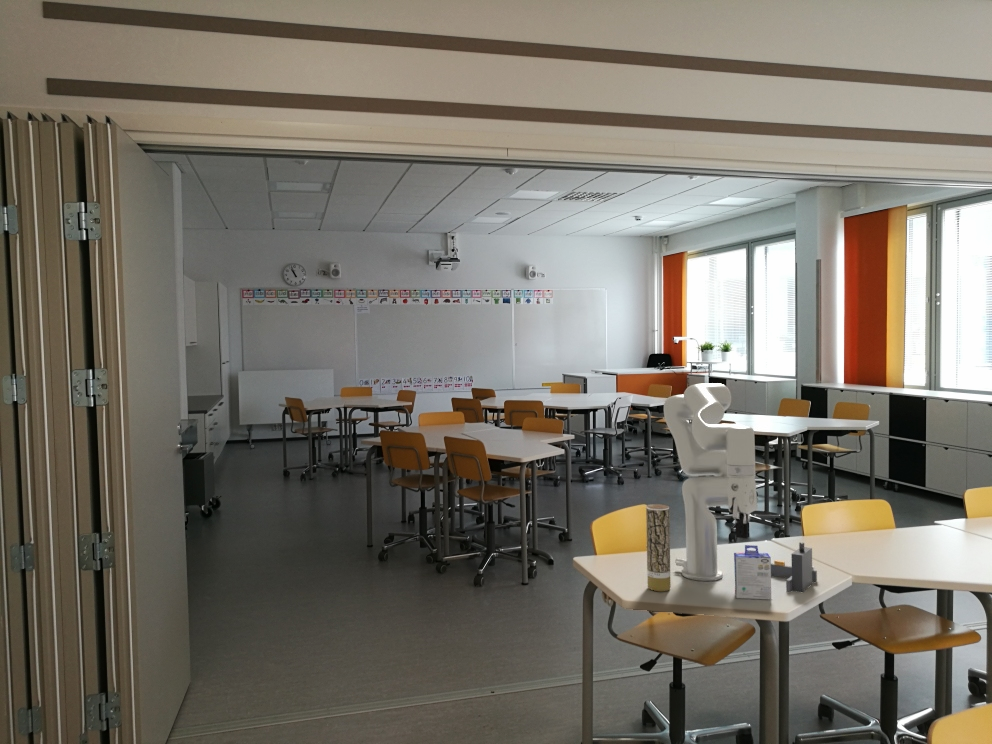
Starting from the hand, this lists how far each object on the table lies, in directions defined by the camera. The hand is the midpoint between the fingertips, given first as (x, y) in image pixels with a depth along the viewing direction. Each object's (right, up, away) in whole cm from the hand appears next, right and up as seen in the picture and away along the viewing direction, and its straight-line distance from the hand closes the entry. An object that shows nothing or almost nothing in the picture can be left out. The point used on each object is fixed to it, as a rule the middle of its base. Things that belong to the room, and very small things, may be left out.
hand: (742, 537), depth 197 cm
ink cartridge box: (+7, -20, +10) cm, 23 cm away
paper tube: (-19, -20, +19) cm, 33 cm away
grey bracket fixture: (+19, -19, +22) cm, 35 cm away
